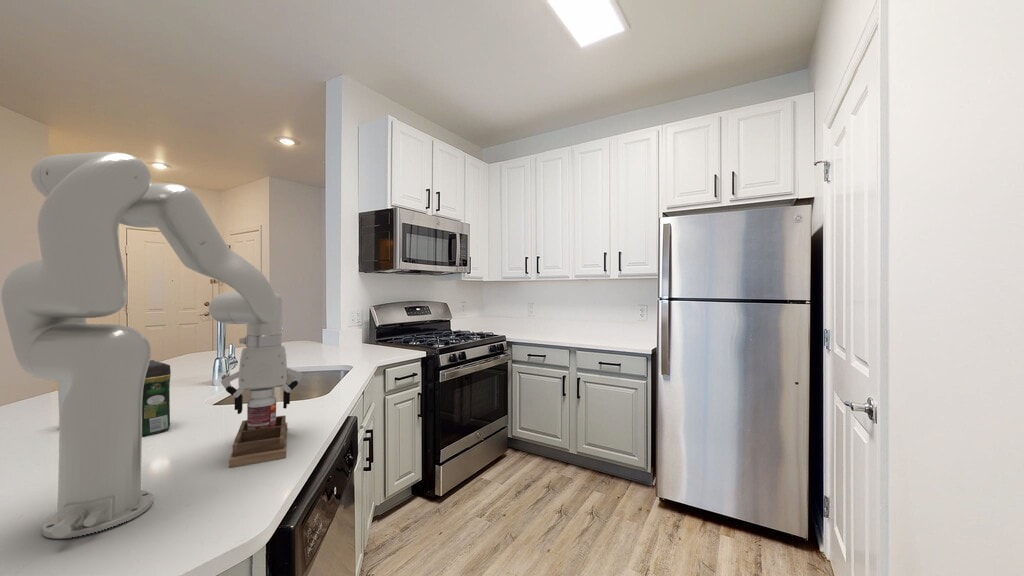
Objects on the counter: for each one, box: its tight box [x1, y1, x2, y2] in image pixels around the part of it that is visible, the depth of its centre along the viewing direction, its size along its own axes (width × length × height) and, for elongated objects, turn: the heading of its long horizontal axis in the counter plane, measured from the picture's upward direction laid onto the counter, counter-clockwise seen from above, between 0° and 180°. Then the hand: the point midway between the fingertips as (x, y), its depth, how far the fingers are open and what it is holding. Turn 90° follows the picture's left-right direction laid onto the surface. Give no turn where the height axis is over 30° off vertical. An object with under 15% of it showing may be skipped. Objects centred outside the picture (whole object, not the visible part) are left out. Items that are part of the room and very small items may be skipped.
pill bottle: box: [246, 387, 277, 430], centre depth 99 cm, size 6×6×11 cm
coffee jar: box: [142, 359, 172, 436], centre depth 104 cm, size 10×8×19 cm
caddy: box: [228, 415, 288, 469], centre depth 95 cm, size 22×10×4 cm, turn 29°
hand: (263, 409), depth 99 cm, fingers open, 9 cm apart
